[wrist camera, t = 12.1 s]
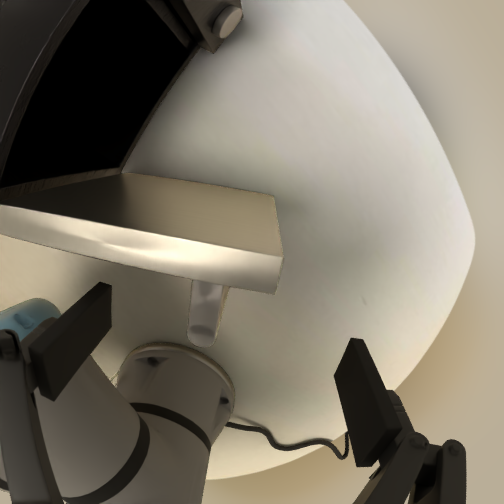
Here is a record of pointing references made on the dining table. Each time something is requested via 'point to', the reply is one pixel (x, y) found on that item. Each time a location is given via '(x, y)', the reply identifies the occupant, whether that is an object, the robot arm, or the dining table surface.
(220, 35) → the microwave
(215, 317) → the microwave door
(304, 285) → the dining table surface
